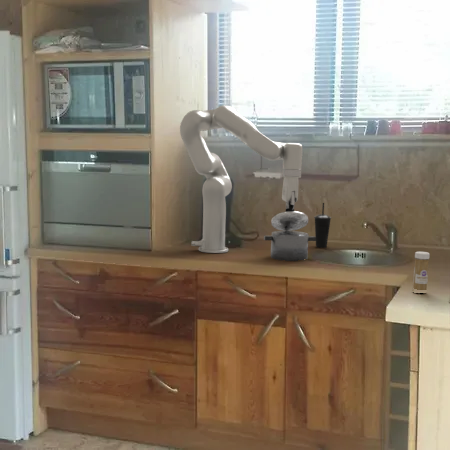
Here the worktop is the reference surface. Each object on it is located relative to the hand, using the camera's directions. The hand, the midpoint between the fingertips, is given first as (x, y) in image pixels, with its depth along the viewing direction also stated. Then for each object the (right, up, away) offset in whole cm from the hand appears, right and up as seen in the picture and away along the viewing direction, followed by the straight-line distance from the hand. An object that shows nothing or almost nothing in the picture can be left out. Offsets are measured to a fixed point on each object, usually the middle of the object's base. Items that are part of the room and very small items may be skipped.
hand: (289, 218), depth 287 cm
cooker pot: (0, -16, 0) cm, 16 cm away
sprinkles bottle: (+37, -25, -57) cm, 73 cm away
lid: (0, -2, 0) cm, 2 cm away
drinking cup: (+17, -13, +30) cm, 37 cm away
